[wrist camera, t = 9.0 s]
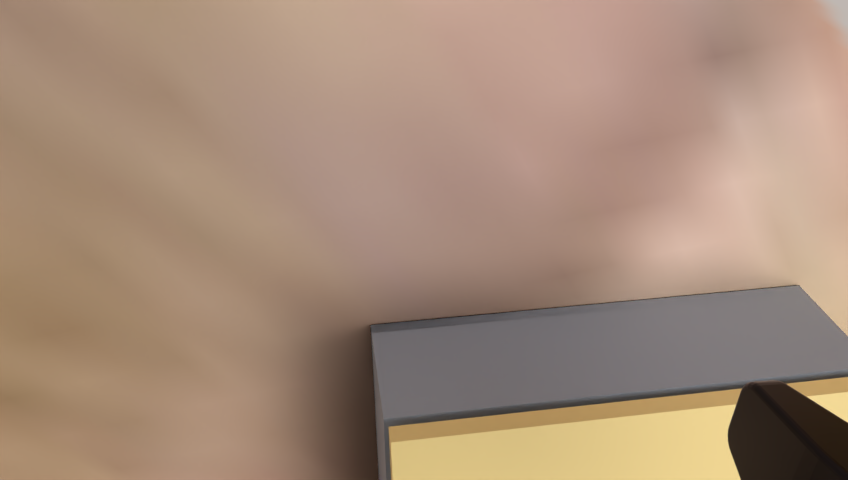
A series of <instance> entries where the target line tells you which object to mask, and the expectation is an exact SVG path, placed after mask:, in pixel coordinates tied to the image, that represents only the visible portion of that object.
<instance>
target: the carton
mask: <svg viewBox="0 0 848 480" xmlns="http://www.w3.org/2000/svg"><path fill="white" fill-rule="evenodd" d="M371 342H372V361H373V380H374V398H375V417H376V436H377V455H378V474H379V480H391V468H390V448H389V427H390V426H400V425H409V424H418V423H427V422H437V421H446V420H455V419H464V418H474V417H483V416H492V415H501V414H510V413H520V412H529V411H538V410H547V409H557V408H566V407H575V406H584V405H594V404H603V403H612V402H621V401H630V400H640V399H649V398H658V397H667V396H677V395H686V394H695V393H704V392H714V391H723V390H732V389H741V388H743V387H744V386H745V385H746V384H747V383H749V382H755V381H769V380H777V381H781V382H783V383H785V384H787V383H797V382H806V381H815V380H824V379H834V378H843V377H848V336H847V335H846V334H845V333H844V332H843V331H842V330H841V329H840V328H839V327H838V326H837V325H836V324H835V323H834V322H833V321H832V320H831V319H830V317H829V316H828V315H827V314H826V313H825V312H824V311H823V310H822V309H821V308H820V307H819V306H818V305H817V304H816V303H815V302H814V301H813V300H812V299H811V298H810V296H809V295H808V294H807V293H806V292H805V291H804V290H803V289H802V288H801V287H800V286H799V285H798V286H787V287H776V288H765V289H755V290H744V291H733V292H722V293H711V294H701V295H690V296H679V297H668V298H658V299H647V300H636V301H625V302H614V303H604V304H593V305H582V306H571V307H561V308H550V309H539V310H528V311H517V312H507V313H496V314H485V315H474V316H464V317H453V318H442V319H431V320H420V321H410V322H399V323H388V324H377V325H371Z"/></svg>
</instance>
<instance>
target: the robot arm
mask: <svg viewBox="0 0 848 480" xmlns="http://www.w3.org/2000/svg"><path fill="white" fill-rule="evenodd" d="M728 445H729V449H730V452H731V455H732V457H733V460H734V463H735V465H736V468H737V471H738V474H739V476H740V479H741V480H848V422H846V421H845V420H843V419H841V418H840V417H838V416H837V415H835V414H833V413H832V412H830V411H829V410H827V409H825V408H824V407H822V406H821V405H819V404H817V403H816V402H814V401H813V400H811V399H809V398H808V397H806V396H805V395H803V394H801V393H800V392H798V391H797V390H795V389H794V388H792V387H790V386H789V385H787V384H785V383H783V382H781V381H777V380H769V381H755V382H749V383H747V384H746V385H745V386H744V387H743V388H742V390H741V392H740V395H739V398H738V401H737V404H736V407H735V410H734V413H733V416H732V419H731V422H730V424H729V428H728Z"/></svg>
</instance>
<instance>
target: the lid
mask: <svg viewBox="0 0 848 480" xmlns="http://www.w3.org/2000/svg"><path fill="white" fill-rule="evenodd" d="M787 385H789V386H790V387H792V388H794V389H795V390H797V391H798V392H800V393H801V394H803V395H805V396H806V397H808V398H809V399H811V400H813V401H814V402H816V403H817V404H819V405H821V406H822V407H824V408H825V409H827V410H829V411H830V412H832V413H833V414H835V415H837V416H838V417H840V418H841V419H843V420H845V421H846V422H848V377H843V378H834V379H824V380H815V381H806V382H797V383H787ZM741 390H742V388H741V389H732V390H723V391H714V392H704V393H695V394H686V395H677V396H667V397H658V398H649V399H640V400H630V401H621V402H612V403H603V404H594V405H584V406H575V407H566V408H557V409H547V410H538V411H529V412H520V413H510V414H501V415H492V416H483V417H474V418H464V419H455V420H446V421H437V422H427V423H418V424H409V425H400V426H390V427H389V448H390V468H391V480H741V479H740V476H739V474H738V471H737V468H736V465H735V463H734V460H733V457H732V455H731V452H730V449H729V445H728V428H729V424H730V422H731V419H732V416H733V413H734V410H735V407H736V404H737V401H738V398H739V395H740V392H741Z"/></svg>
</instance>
